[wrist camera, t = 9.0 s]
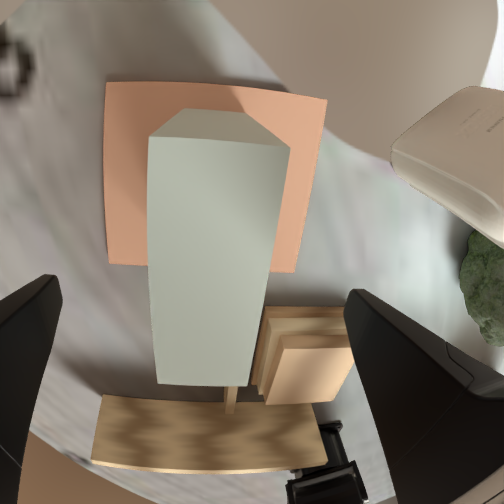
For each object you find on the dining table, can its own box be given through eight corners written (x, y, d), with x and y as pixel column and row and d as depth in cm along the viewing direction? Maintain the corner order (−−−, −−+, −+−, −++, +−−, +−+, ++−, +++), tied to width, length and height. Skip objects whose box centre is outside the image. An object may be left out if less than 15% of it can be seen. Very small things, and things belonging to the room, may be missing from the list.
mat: (324, 99, 18) (327, 100, 17) (291, 268, 24) (293, 272, 23) (109, 82, 16) (106, 82, 15) (111, 259, 21) (109, 263, 21)
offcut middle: (352, 315, 26) (359, 327, 24) (328, 377, 30) (332, 388, 28) (268, 318, 25) (271, 331, 23) (256, 382, 28) (258, 394, 27)
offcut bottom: (353, 301, 27) (359, 312, 26) (326, 369, 31) (330, 380, 30) (263, 300, 26) (266, 312, 24) (249, 372, 30) (251, 384, 29)
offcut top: (355, 334, 25) (361, 347, 24) (328, 388, 28) (332, 400, 27) (280, 334, 24) (284, 348, 22) (262, 391, 27) (265, 404, 26)
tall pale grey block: (245, 112, 17) (290, 147, 8) (229, 251, 22) (247, 386, 12) (184, 107, 17) (148, 136, 7) (176, 248, 21) (157, 383, 11)
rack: (348, 301, 26) (387, 373, 19) (307, 403, 33) (325, 464, 26) (74, 290, 22) (38, 365, 15) (104, 399, 29) (93, 463, 22)
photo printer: (468, 77, 17) (603, 109, 7) (486, 123, 19) (607, 174, 9) (377, 144, 20) (516, 219, 9) (403, 191, 22) (522, 286, 11)
